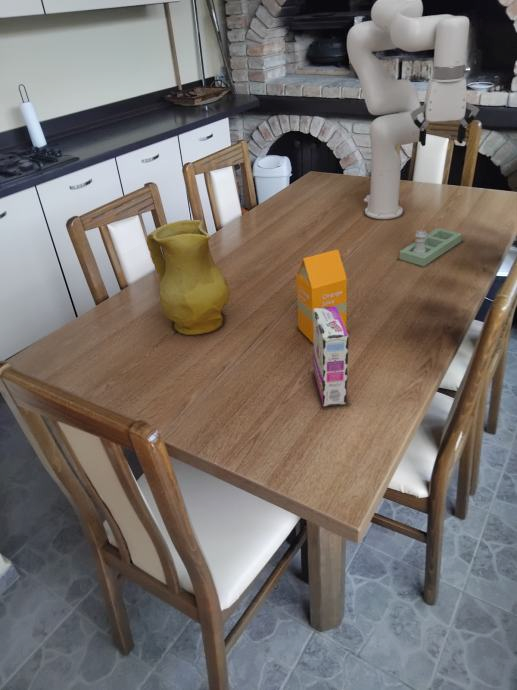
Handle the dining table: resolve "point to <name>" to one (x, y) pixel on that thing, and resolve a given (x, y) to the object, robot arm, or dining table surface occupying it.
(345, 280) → the orange juice
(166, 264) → the pitcher
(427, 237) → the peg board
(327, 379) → the candy bar box
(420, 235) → the rook chess piece
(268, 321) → the dining table surface
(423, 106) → the robot arm
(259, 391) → the dining table surface
